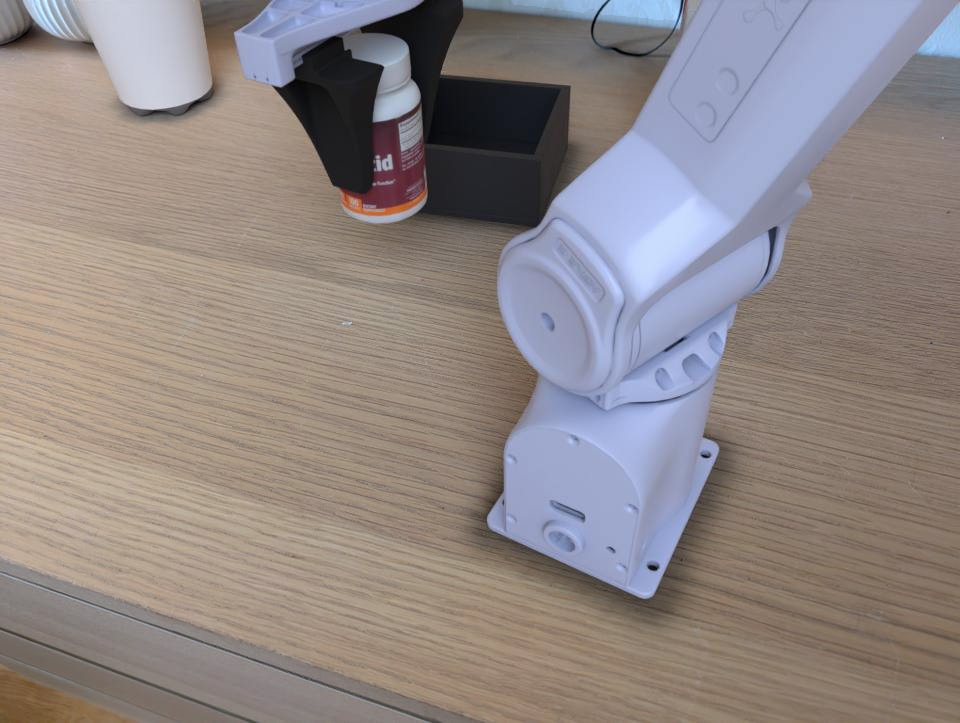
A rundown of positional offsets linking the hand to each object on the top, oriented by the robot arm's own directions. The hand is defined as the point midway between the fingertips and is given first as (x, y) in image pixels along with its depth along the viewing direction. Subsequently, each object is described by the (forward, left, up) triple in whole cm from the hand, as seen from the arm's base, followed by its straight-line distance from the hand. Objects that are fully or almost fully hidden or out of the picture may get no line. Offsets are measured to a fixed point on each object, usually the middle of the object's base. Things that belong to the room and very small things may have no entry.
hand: (381, 161), depth 43 cm
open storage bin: (+15, +3, -9) cm, 18 cm away
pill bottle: (0, 0, -3) cm, 3 cm away
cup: (+14, +33, -10) cm, 37 cm away
